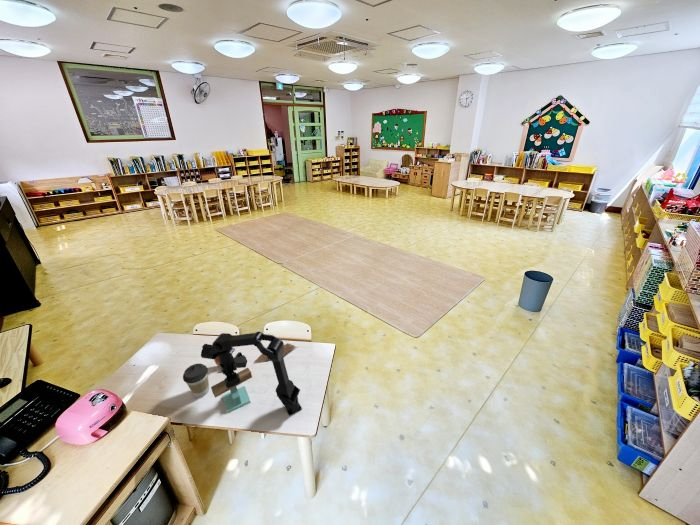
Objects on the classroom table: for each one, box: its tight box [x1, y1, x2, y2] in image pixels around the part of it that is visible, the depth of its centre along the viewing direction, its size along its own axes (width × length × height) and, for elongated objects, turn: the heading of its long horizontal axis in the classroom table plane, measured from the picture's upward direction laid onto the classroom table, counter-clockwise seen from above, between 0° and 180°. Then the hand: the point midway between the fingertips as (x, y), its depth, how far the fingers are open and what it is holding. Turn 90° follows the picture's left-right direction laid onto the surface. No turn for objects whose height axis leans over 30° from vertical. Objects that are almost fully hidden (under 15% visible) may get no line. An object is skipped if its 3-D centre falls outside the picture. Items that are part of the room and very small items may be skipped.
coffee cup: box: [182, 363, 210, 398], centre depth 149 cm, size 11×11×15 cm
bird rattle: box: [213, 357, 221, 368], centre depth 165 cm, size 6×11×9 cm
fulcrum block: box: [222, 385, 251, 414], centre depth 146 cm, size 11×11×6 cm
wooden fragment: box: [253, 343, 297, 364], centre depth 175 cm, size 26×11×1 cm, turn 116°
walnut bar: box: [210, 367, 253, 399], centre depth 142 cm, size 4×18×4 cm, turn 131°
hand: (232, 383), depth 142 cm, fingers closed on walnut bar, 4 cm apart
